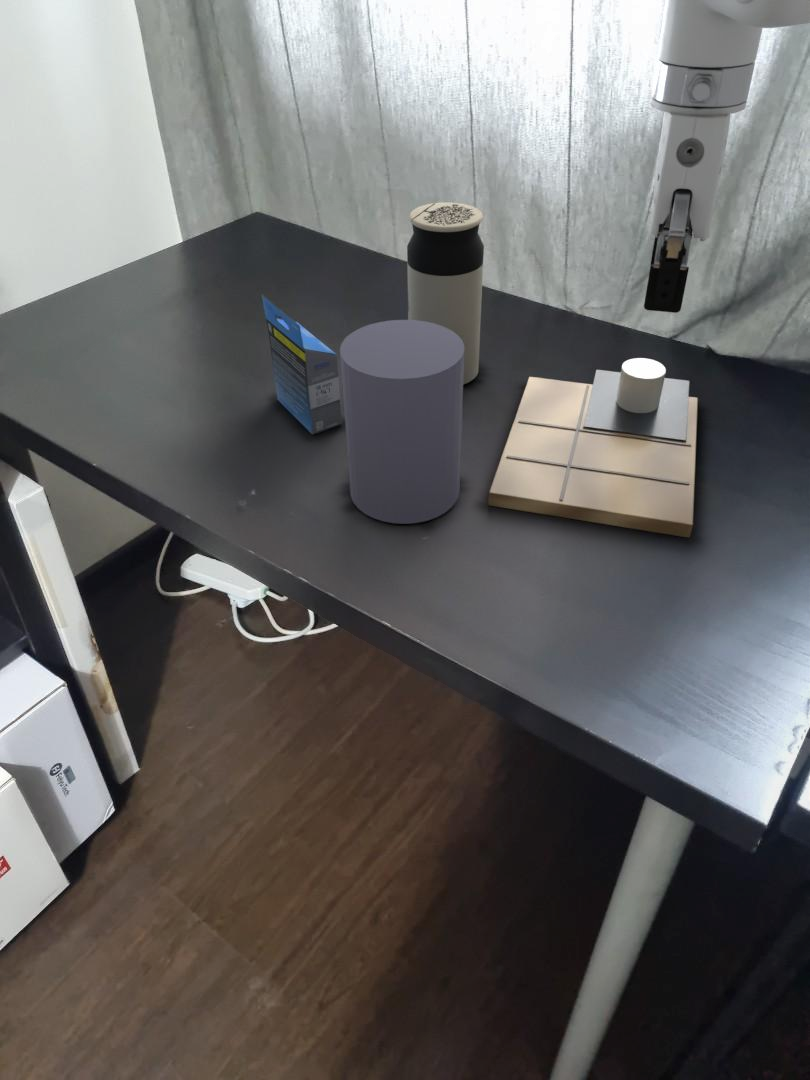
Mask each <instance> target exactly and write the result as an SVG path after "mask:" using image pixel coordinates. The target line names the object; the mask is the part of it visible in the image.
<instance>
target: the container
mask: <svg viewBox="0 0 810 1080" xmlns="http://www.w3.org/2000/svg"><path fill="white" fill-rule="evenodd" d="M339 353H340V354H339V356H340V367H341V380H342V395H343V409H344V422H345V423H344V424H345V435H346V450H347V451H346V452H347V463H348V464H347V465H348V479H349V491H350V498H351V501H352V503H353V504H354V505H355V506H356V508H357V509H358V510H359V511H361V512H362V513H363V514H365V515H366V516H369V517H371V518H373V519H374V520H378V521H381V522H383V523H384V522H385V523H391V524H398V525H406V524H407V525H408V524H419V523H423V522H427V521H430V520H433V519H435V518H438V517H440V516H441V515H444V514H446V512H448V511H449V510H450V509H451V508H453V506H454V505H455V504H456V502H457V501H458V499H459V496H460V484H461V481H460V480H461V457H462V429H463V428H462V427H463V426H462V425H463V400H464V384H463V372H464V344H463V341H462V340H461V338H460V337H459V336H458V335H457V334H456V333H454V332H453V331H451V330H449V329H447V328H445V327H443V326H440V325H437V324H434V323H430V322H425V321H417V320H408V319H394V320H393V319H391V320H385V321H379V322H375V323H371V324H367V325H365V326H362V327H359V328H358V329H356V330H354V331H353V332H351V333H350V334H348V335H347V336H346V337H345V338H344V339H343V341H342V342H341V344H340V347H339Z"/></svg>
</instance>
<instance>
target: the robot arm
mask: <svg viewBox="0 0 810 1080" xmlns="http://www.w3.org/2000/svg"><path fill="white" fill-rule="evenodd" d="M805 24H810V0H665V3H664V9H663V16H662V23H661V31H660V36H659V37H660V38H659V43H658V51H657V56H656V57H657V59H656V63H655V64H656V65H655V70H654V78H653V83H652V91H651V99H650V106H651V107H653V108H654V109H656V110H659V111H661V112H663V116H662V117H663V118H662V124H661V131H660V137H659V144H658V151H657V158H656V167H655V175H654V176H655V177H654V185H653V195H652V213H651V232H650V233H651V234H652V235H653V237H654V240H653V241H654V242H653V247H652V254H651V260H650V264H649V265H650V266H649V267H650V268H649V273H648V279H647V285H646V291H645V297H644V303H643V308H644V310H646V311H652V312H653V311H654V312H663V313H673V314H676V313H679V312H681V309H682V306H683V305H682V304H683V301H684V294H685V290H686V285H687V279H688V276H689V275H688V274H689V271H690V270H689V268H690V267H689V266H688V261H689V257H690V250H691V244H692V239H693V238H694V239H699V241H700V242H704V241H706V240H707V239H708V238H709V237H710V231H711V225H712V221H713V216H714V209H715V205H716V199H717V195H718V190H719V184H720V180H721V175H722V169H723V164H724V160H725V154H726V149H727V143H728V137H729V130H730V123H731V115H732V114H736V113H739V112H742V111H743V110H745V109H746V107H747V103H748V98H749V93H750V88H751V85H752V79H753V76H754V75H753V74H754V70H755V66H756V60H757V57H758V51H759V47H760V41H761V37H762V33H763V29H775V28H786V27H793V26H798V25H805Z"/></svg>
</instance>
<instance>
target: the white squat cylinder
mask: <svg viewBox="0 0 810 1080" xmlns="http://www.w3.org/2000/svg"><path fill="white" fill-rule="evenodd" d="M620 373H621V374H620V379H619V385H618V391H617V397H616V402H617V404H618V405H619V406H620V407H621V408H622V409H624V410H626V411H629V412H633V413H649V412H652V411H654V410H656V409H657V408H658V406H659V402H660V398H661V393H662V388H663V384H664V379H665V378H666V375H667V374H666V373H667V368H666V367H665V366H664V364H662V363H661V362H659V361H658V360H655V359H651V358H646V357H634V358H630V359H627V360H625V361H623V362H622V364H621V368H620Z"/></svg>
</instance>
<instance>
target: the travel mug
mask: <svg viewBox="0 0 810 1080" xmlns="http://www.w3.org/2000/svg"><path fill="white" fill-rule="evenodd" d="M483 219H484V215H483V212H482V211H481V210H480V209H479V208H477V207H475V206H472V205H469V204H466V203H460V202H451V201H450V202H448V201H447V202H446V201H445V202H444V201H443V202H433V203H427V204H423V205H421V206H417V207H416V208H414V209H413V210H412V211H410V213H409V215H408V220H409V222H410V223H411V226H412V231H413V233H412V235H411V237H410V240H409V241H408V243H407V245H406V255H407V257H406V258H407V317H408V318H407V320H417V321H425V322H430V323H434V324H437V325H440V326H443V327H445V328H447V329H449V330H451V331H453V332H454V333H456V334H457V335H458V336H459V337H460V338H461V340H462V341H463V344H464V372H463V385H465V384H468V383H470V382H471V381H473V380H474V379H476V377H478V374H479V363H480V344H481V343H480V341H481V323H482V322H481V321H482V319H481V318H482V298H483V276H484V275H483V274H484V253H485V245H484V242H483V241H482V238H481V236H480V234H479V229H480V224H481V223H482V222H483Z"/></svg>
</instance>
